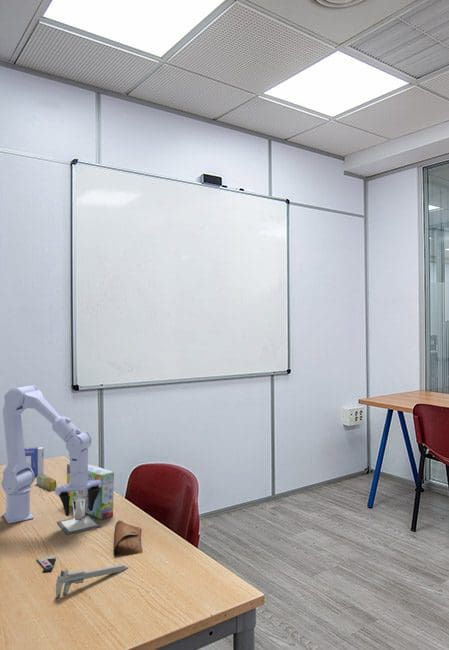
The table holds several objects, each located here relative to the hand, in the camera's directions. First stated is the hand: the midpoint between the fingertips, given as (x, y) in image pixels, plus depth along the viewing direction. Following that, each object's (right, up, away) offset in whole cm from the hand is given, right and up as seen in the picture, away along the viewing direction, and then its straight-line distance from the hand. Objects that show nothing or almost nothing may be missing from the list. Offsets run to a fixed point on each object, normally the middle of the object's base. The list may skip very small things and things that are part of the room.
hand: (78, 512), depth 163 cm
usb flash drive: (-2, -5, -26) cm, 27 cm away
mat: (0, -4, 0) cm, 4 cm away
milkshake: (+1, -4, 0) cm, 4 cm away
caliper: (+14, -5, -35) cm, 38 cm away
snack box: (0, -4, +13) cm, 13 cm away
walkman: (-34, -4, +51) cm, 61 cm away
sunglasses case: (+18, -5, -12) cm, 22 cm away
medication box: (-23, -4, +37) cm, 44 cm away
